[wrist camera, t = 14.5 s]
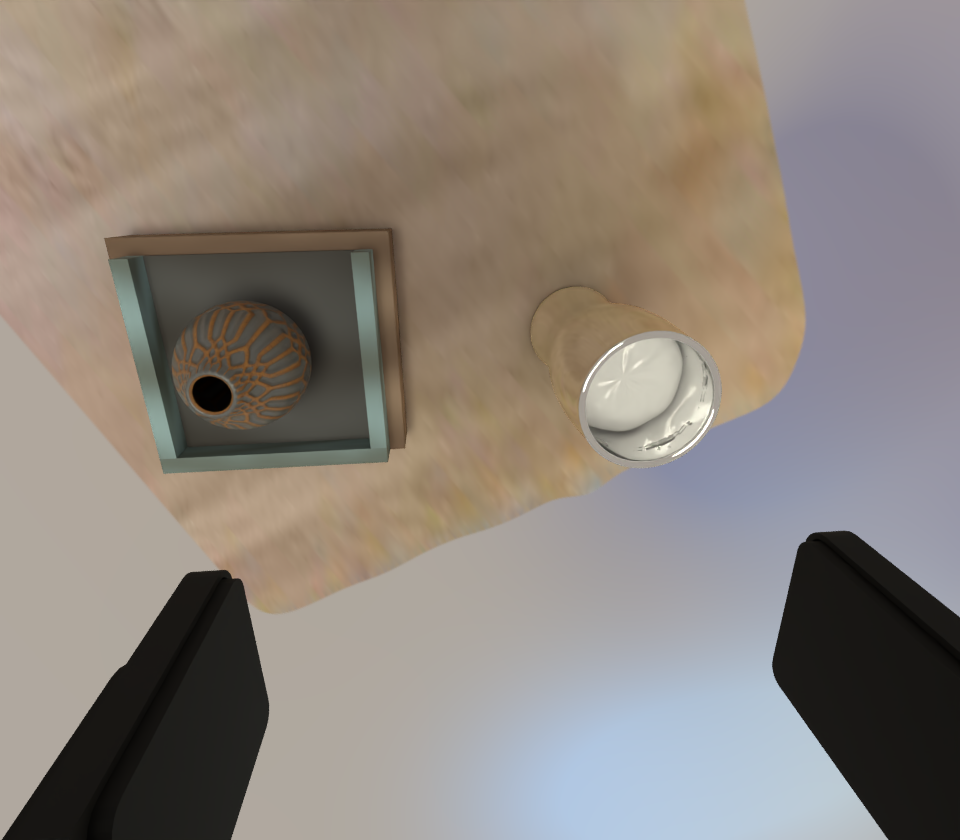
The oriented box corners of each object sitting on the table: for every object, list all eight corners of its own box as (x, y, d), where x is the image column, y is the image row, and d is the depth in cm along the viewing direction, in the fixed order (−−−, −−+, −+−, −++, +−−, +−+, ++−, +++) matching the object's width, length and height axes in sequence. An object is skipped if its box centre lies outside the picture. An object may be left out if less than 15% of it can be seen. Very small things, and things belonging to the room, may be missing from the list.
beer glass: (599, 389, 41) (685, 488, 27) (509, 362, 39) (551, 451, 25) (637, 297, 38) (754, 353, 24) (544, 265, 37) (610, 305, 23)
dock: (130, 235, 34) (83, 240, 30) (391, 228, 35) (385, 232, 31) (180, 442, 40) (147, 474, 35) (406, 431, 41) (403, 461, 36)
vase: (320, 405, 36) (287, 466, 28) (208, 396, 35) (140, 456, 27) (322, 298, 33) (285, 330, 25) (201, 286, 33) (124, 314, 24)
